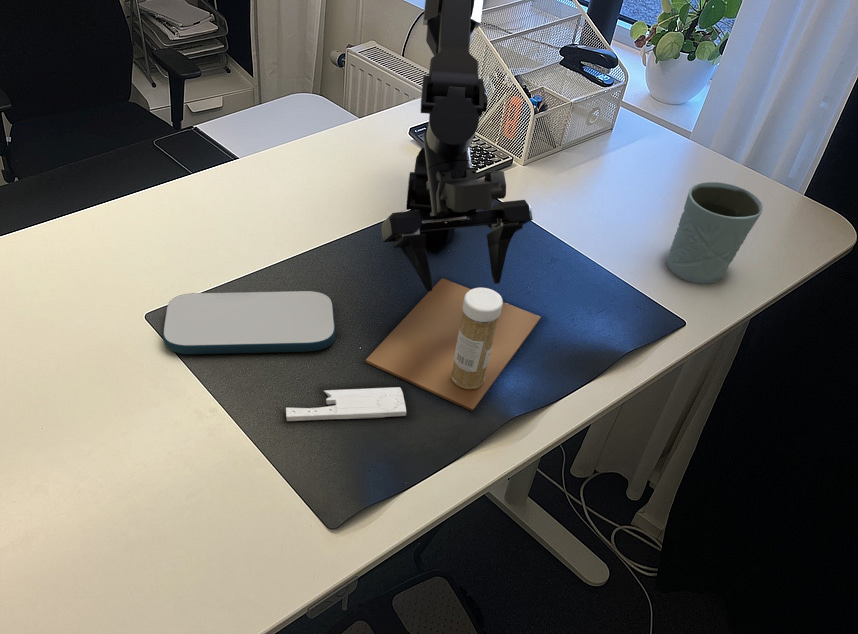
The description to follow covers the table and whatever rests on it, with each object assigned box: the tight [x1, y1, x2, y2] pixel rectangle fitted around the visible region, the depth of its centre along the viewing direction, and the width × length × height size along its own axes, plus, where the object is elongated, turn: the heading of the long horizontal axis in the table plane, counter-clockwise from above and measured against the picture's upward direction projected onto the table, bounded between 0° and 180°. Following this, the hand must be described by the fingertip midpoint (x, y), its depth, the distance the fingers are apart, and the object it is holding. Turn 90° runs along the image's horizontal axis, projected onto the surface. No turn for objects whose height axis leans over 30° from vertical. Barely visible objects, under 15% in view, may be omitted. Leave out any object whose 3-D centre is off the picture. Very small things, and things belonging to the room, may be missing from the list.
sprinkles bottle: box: [451, 287, 504, 389], centre depth 94 cm, size 5×5×14 cm
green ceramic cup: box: [666, 181, 764, 285], centre depth 113 cm, size 10×10×12 cm
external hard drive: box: [162, 290, 336, 355], centre depth 106 cm, size 24×12×2 cm, turn 93°
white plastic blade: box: [285, 386, 407, 422], centre depth 96 cm, size 5×15×1 cm, turn 94°
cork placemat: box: [365, 277, 542, 412], centre depth 105 cm, size 16×22×1 cm
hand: (463, 287), depth 98 cm, fingers open, 9 cm apart
